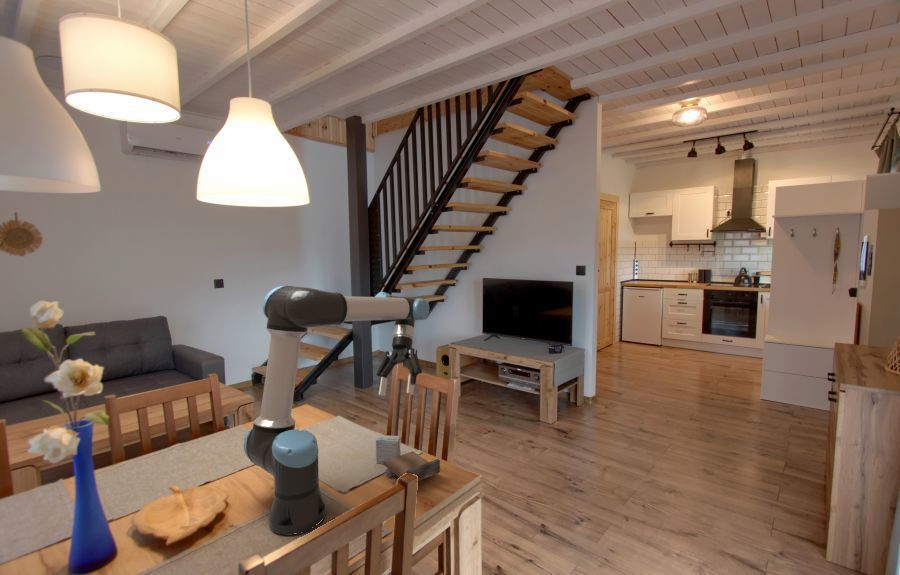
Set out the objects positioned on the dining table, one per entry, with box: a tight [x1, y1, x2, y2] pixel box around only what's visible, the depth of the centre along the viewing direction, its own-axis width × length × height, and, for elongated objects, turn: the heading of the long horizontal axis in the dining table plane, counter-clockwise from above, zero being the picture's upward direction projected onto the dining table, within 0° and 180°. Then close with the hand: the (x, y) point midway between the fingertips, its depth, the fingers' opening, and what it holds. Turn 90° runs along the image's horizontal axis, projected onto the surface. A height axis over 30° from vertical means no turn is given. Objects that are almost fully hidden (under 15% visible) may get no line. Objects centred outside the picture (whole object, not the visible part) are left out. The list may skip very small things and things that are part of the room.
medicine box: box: [375, 435, 402, 465], centre depth 150 cm, size 8×4×9 cm, turn 84°
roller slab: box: [382, 451, 441, 482], centre depth 141 cm, size 13×16×6 cm
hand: (395, 394), depth 153 cm, fingers open, 13 cm apart
